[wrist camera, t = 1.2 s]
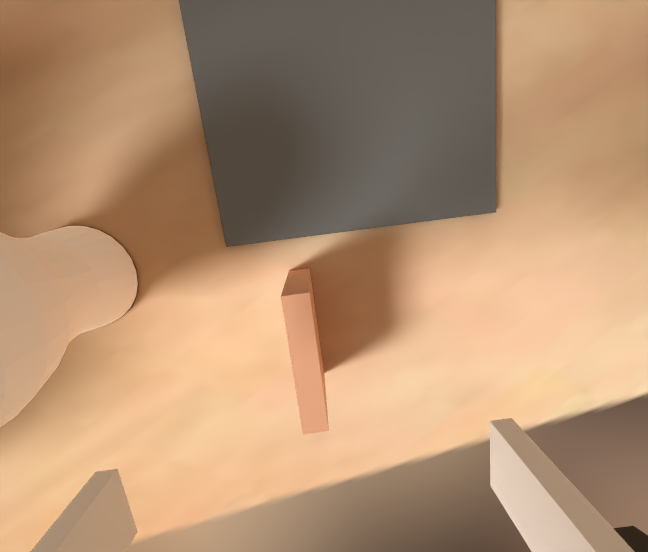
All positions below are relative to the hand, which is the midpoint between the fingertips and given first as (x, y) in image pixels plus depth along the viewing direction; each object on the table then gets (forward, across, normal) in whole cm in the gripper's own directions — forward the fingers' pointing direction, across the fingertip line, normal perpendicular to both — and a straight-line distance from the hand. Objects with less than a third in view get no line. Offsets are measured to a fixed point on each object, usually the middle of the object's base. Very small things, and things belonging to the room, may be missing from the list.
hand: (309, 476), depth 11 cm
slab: (+15, 0, 0) cm, 15 cm away
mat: (+15, +5, +15) cm, 22 cm away
